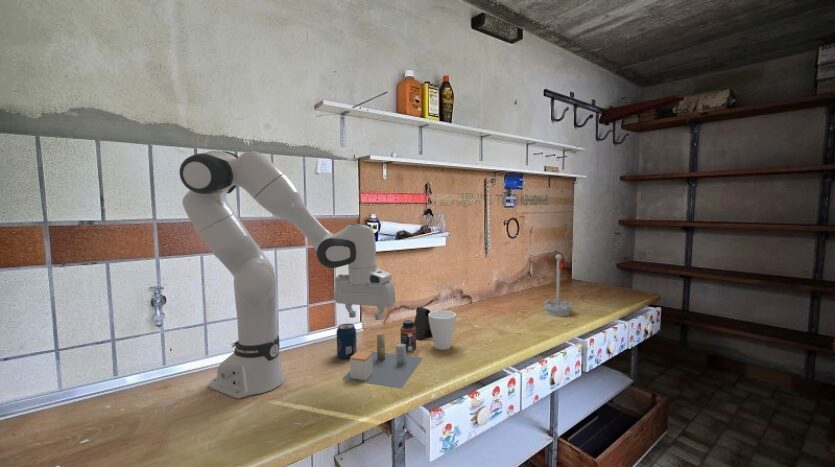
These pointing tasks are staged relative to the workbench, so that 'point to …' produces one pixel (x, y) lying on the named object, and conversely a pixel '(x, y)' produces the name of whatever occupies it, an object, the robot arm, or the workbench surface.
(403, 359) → the steel post
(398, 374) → the board
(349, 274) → the robot arm
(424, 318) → the door stopper
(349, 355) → the soda can
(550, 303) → the flag stand
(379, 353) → the birch dowel
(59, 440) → the workbench surface
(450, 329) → the cup
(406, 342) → the supplement bottle
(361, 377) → the white block tan top
